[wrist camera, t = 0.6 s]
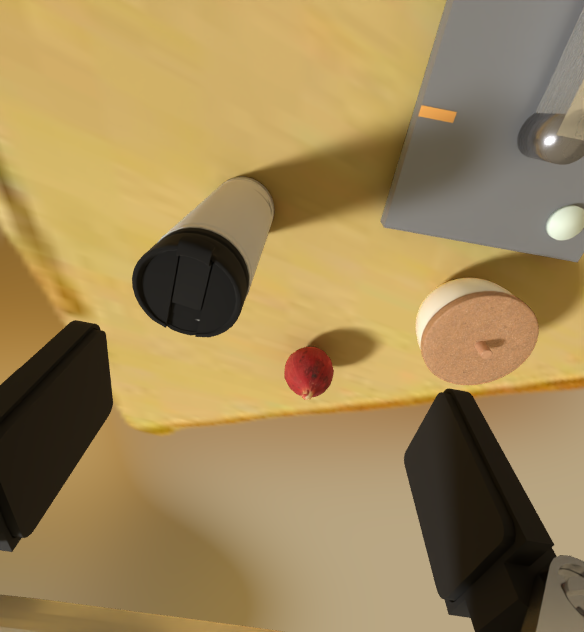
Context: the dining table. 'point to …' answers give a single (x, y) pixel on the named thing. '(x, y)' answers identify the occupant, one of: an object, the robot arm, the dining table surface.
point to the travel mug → (206, 261)
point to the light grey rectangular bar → (559, 109)
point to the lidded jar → (474, 331)
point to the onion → (309, 372)
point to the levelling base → (489, 134)
